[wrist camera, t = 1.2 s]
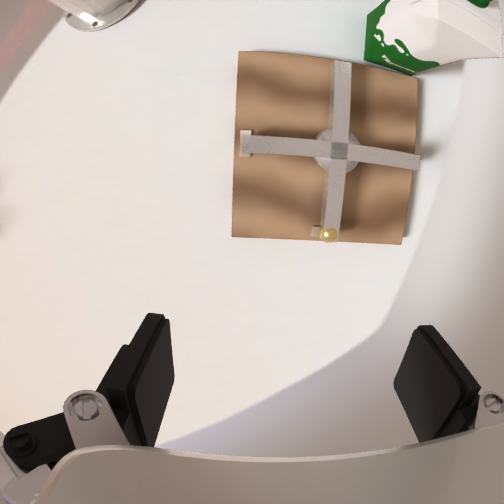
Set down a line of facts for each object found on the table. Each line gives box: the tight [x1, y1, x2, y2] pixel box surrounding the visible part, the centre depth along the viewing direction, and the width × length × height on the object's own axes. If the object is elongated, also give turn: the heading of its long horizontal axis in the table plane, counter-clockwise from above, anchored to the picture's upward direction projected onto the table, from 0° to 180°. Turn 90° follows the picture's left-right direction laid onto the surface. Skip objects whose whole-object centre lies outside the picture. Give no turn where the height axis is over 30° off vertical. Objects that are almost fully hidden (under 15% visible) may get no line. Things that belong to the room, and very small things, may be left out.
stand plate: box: [232, 51, 418, 245], centre depth 34 cm, size 22×22×2 cm
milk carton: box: [364, 0, 503, 76], centre depth 20 cm, size 9×9×20 cm
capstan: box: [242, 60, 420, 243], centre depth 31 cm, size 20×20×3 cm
